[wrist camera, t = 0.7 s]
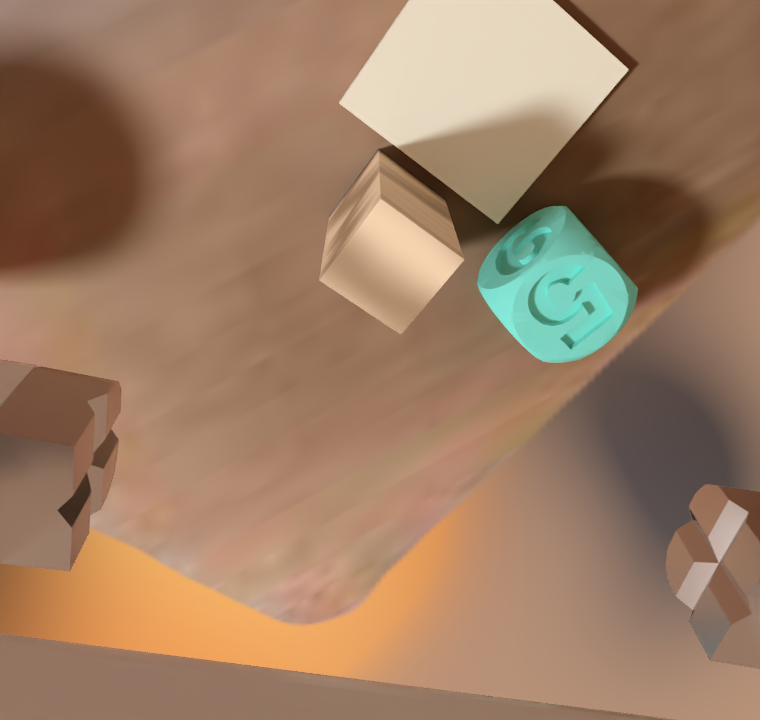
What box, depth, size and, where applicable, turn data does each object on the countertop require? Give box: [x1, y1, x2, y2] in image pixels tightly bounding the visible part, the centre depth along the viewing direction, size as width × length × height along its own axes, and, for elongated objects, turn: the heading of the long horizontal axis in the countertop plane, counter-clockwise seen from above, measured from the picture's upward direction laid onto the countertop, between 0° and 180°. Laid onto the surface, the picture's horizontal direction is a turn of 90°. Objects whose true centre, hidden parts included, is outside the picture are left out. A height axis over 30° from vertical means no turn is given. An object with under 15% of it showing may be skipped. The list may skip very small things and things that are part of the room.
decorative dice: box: [478, 206, 638, 363], centre depth 51 cm, size 8×8×8 cm
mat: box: [339, 0, 629, 224], centre depth 48 cm, size 13×14×1 cm
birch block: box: [319, 149, 464, 334], centre depth 47 cm, size 6×6×12 cm
